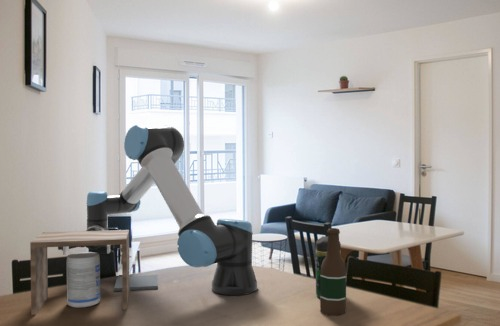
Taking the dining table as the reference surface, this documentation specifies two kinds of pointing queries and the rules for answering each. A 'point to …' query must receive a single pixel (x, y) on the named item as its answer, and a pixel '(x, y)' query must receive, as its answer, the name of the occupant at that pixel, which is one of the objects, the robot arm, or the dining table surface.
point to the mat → (138, 282)
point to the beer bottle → (333, 278)
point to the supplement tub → (83, 279)
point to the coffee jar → (321, 259)
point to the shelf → (72, 239)
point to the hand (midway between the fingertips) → (86, 250)
